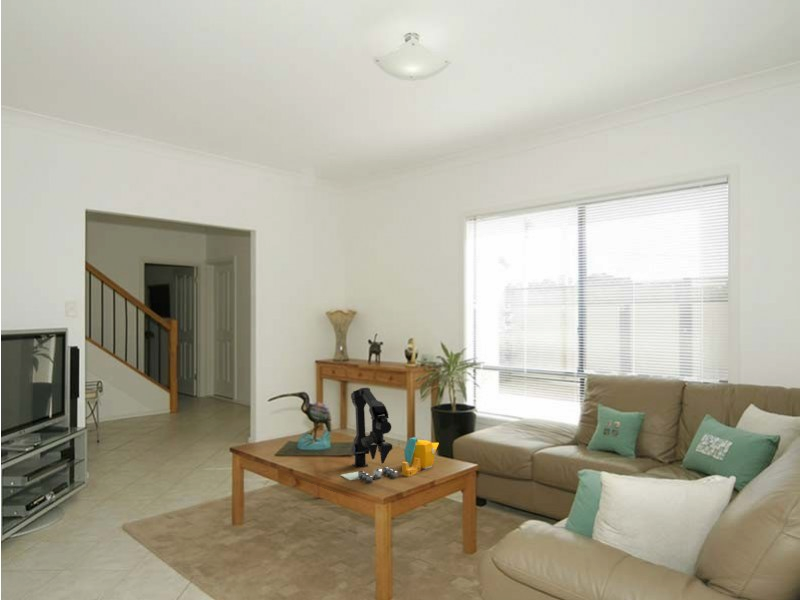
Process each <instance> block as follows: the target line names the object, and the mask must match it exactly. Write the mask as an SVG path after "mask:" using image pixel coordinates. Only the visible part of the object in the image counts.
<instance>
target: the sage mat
mask: <svg viewBox="0 0 800 600" xmlns="http://www.w3.org/2000/svg"><path fill="white" fill-rule="evenodd" d="M358 472H359V471H355V472H348V473H343V474H340V477H342V478H344V479H346V480H348V481H349V482H350V481H356V480H361V479H360V478H359V477H358Z"/></svg>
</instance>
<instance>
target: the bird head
mask: <svg viewBox="0 0 800 600" xmlns="http://www.w3.org/2000/svg"><path fill="white" fill-rule="evenodd" d="M439 445H440V444H439V442H431V441H429V440H427V439H426V440H423V439H418V438H417V437H410V438H408V440H407V442H406V446H405V448H404V449H403V452H404V460H405V461H404V462H408V465H409V467H411V466H412V465H413V463H414V458H420V464H421V470H428V469H431V468H433V467H434V463H435V454H436V452H437V448H438V446H439Z"/></svg>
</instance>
